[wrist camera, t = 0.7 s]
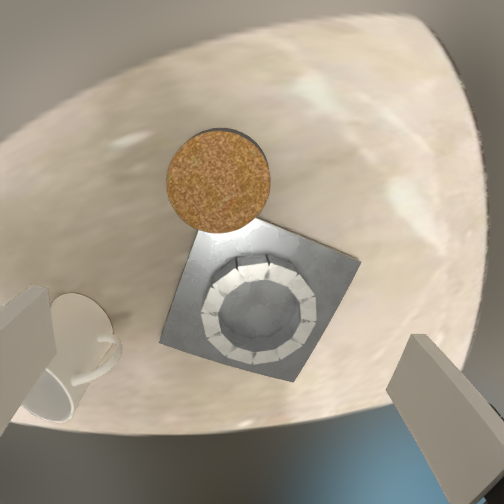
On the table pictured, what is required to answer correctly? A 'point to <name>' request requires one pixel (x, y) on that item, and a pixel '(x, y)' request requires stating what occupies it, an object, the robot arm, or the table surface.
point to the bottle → (218, 181)
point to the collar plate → (257, 298)
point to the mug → (72, 357)
